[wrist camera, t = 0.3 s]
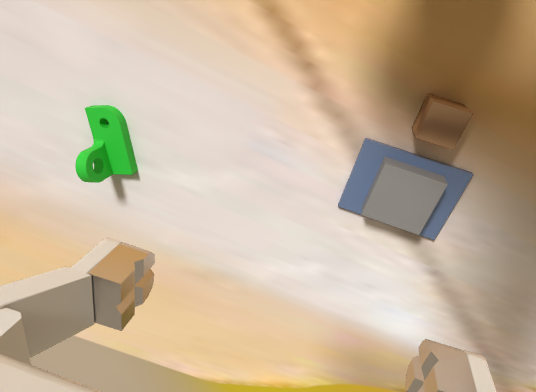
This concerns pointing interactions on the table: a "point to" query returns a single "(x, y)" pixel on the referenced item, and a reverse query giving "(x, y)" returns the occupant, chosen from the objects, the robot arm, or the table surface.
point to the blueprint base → (371, 168)
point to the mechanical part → (106, 146)
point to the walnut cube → (441, 121)
